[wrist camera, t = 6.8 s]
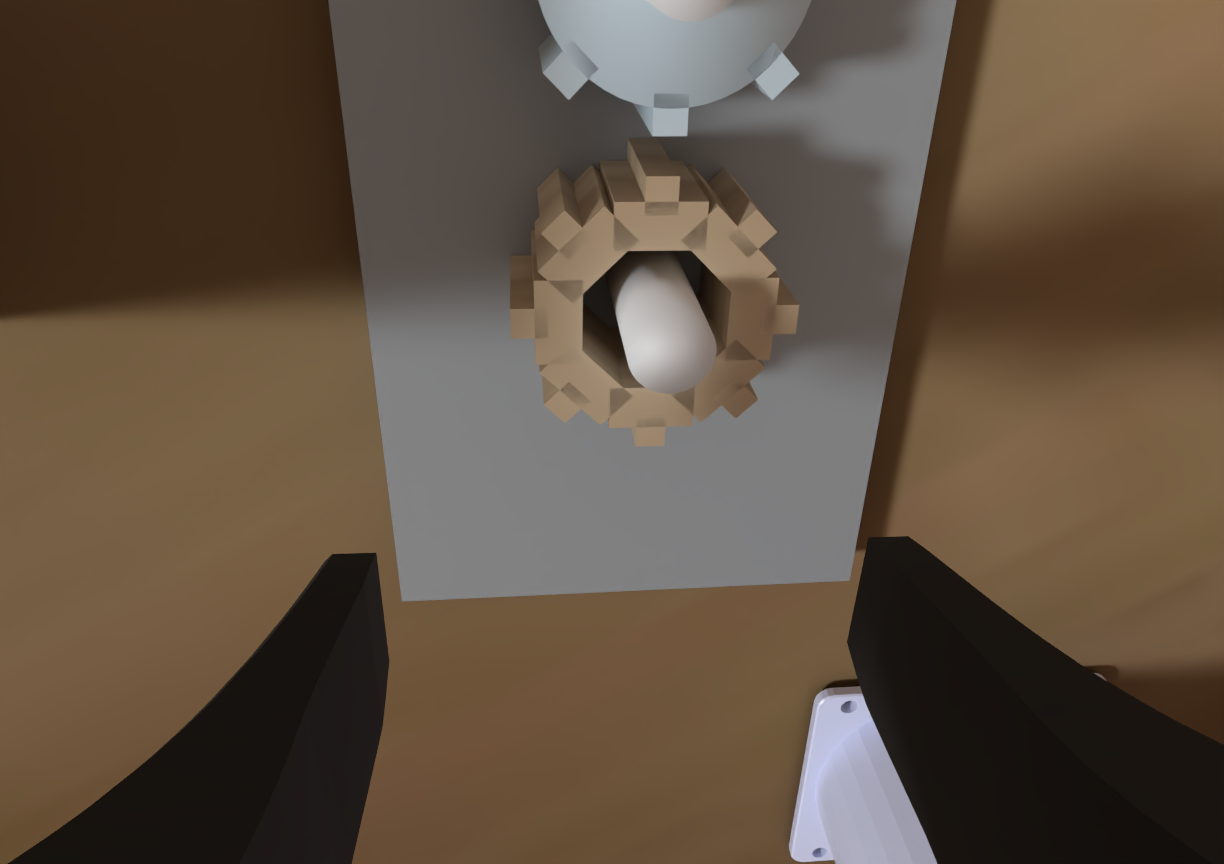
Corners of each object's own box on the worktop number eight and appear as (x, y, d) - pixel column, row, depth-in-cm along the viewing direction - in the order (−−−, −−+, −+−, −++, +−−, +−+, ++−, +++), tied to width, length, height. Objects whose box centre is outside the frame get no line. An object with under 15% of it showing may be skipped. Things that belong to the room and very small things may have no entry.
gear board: (1019, -514, 15) (1253, -705, 10) (836, 553, 26) (909, 701, 21) (273, -561, 14) (151, -797, 9) (406, 572, 25) (381, 732, 20)
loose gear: (775, 138, 19) (815, 175, 16) (749, 378, 22) (781, 442, 19) (506, 137, 19) (505, 177, 16) (514, 382, 21) (515, 450, 19)
